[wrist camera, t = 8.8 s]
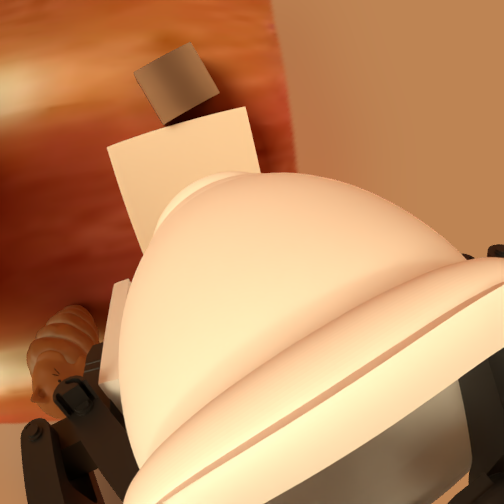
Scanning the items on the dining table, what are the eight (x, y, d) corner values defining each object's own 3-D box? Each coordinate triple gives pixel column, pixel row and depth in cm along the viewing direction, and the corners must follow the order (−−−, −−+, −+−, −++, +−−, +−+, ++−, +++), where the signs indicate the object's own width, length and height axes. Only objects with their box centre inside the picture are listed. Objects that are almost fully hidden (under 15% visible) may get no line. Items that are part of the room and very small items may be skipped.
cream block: (151, 256, 38) (151, 274, 34) (113, 144, 32) (106, 147, 28) (260, 220, 40) (273, 233, 36) (233, 108, 34) (245, 106, 30)
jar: (183, 116, 15) (413, 47, 1) (343, 199, 19) (575, 331, 6) (108, 299, 17) (93, 583, 4) (263, 344, 21) (376, 546, 8)
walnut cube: (163, 124, 33) (164, 124, 28) (137, 81, 30) (133, 72, 25) (210, 98, 33) (220, 92, 28) (184, 54, 30) (190, 41, 25)
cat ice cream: (121, 310, 39) (114, 417, 23) (92, 347, 40) (78, 451, 24) (67, 271, 35) (24, 367, 19) (40, 312, 36) (1, 410, 20)
